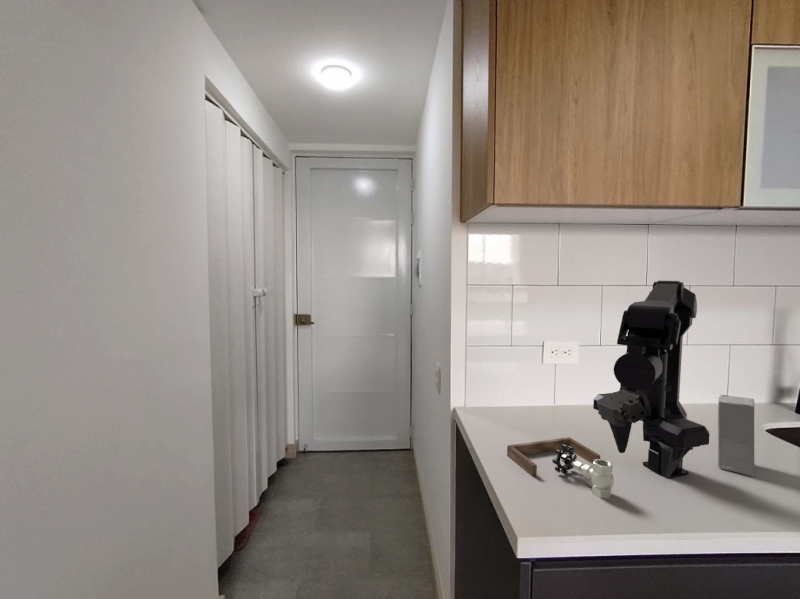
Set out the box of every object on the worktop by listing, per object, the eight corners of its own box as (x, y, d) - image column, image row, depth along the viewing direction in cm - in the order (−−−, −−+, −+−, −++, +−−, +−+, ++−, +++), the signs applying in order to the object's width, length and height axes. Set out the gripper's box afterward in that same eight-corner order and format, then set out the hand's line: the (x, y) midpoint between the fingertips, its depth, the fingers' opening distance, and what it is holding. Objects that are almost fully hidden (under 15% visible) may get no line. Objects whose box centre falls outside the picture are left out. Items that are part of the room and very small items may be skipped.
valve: (621, 495, 81) (572, 468, 91) (623, 463, 80) (573, 440, 91) (599, 503, 78) (551, 475, 89) (601, 471, 77) (552, 446, 88)
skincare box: (754, 478, 87) (759, 407, 86) (713, 467, 92) (717, 400, 91) (753, 464, 94) (758, 398, 92) (715, 454, 98) (719, 391, 97)
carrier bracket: (569, 446, 103) (569, 437, 102) (599, 465, 93) (600, 455, 92) (507, 455, 98) (507, 445, 98) (532, 476, 88) (532, 465, 87)
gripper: (570, 367, 76) (568, 446, 77) (656, 397, 58) (651, 500, 59) (619, 364, 79) (615, 440, 80) (714, 391, 61) (708, 489, 62)
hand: (642, 464), depth 70 cm, fingers open, 9 cm apart
